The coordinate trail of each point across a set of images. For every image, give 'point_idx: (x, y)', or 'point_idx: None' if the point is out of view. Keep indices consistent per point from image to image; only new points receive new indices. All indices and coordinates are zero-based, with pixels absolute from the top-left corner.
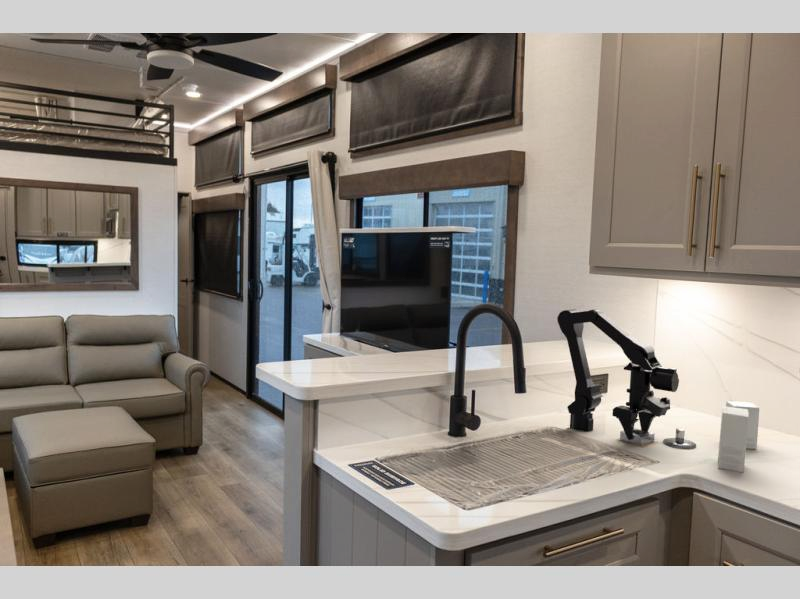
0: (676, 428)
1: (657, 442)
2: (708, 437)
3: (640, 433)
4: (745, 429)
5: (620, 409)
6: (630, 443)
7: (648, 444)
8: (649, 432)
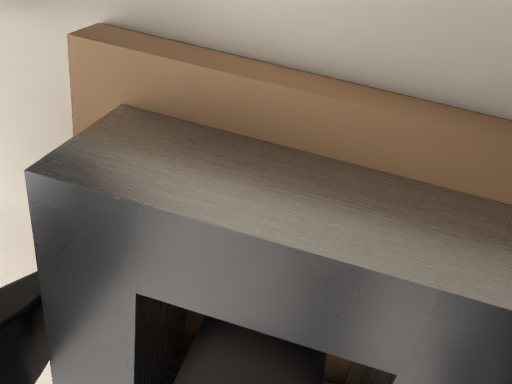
0: None
1: (98, 50)
2: None
3: (271, 373)
4: None
5: None
6: None
7: (339, 134)
8: (53, 261)
